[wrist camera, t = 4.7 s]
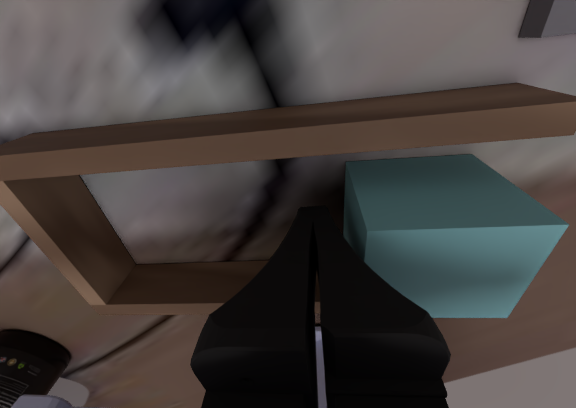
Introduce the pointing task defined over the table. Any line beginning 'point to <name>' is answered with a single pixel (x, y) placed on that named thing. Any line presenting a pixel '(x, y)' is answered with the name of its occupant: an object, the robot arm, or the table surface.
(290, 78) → the table surface
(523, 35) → the pad
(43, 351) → the supplement bottle
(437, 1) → the table surface
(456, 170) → the block
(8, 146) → the channel
